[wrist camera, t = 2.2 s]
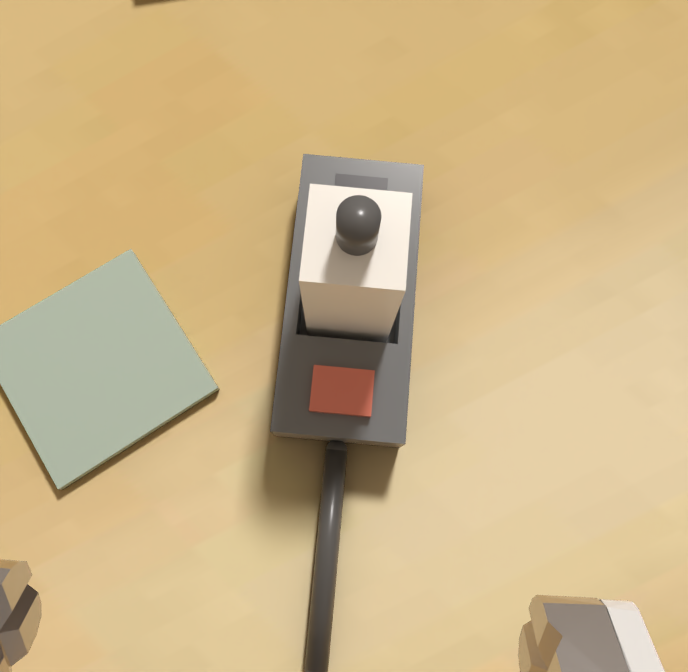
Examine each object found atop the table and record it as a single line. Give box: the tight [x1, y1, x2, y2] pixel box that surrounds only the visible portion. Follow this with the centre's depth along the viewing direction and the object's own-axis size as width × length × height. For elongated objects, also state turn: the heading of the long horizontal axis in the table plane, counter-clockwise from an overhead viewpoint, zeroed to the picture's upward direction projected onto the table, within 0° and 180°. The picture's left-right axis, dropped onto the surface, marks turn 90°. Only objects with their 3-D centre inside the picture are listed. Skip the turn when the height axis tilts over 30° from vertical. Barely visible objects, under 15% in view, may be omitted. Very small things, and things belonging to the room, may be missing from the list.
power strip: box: [270, 154, 424, 672], centre depth 33 cm, size 28×7×4 cm, turn 175°
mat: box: [0, 249, 219, 489], centre depth 35 cm, size 10×10×1 cm
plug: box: [299, 184, 412, 343], centre depth 30 cm, size 4×4×12 cm
